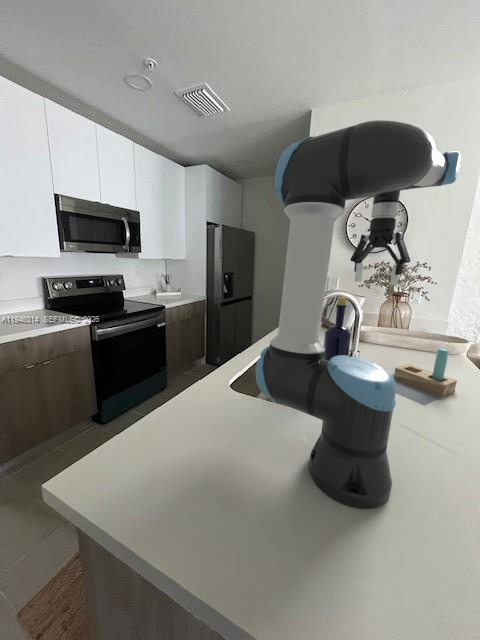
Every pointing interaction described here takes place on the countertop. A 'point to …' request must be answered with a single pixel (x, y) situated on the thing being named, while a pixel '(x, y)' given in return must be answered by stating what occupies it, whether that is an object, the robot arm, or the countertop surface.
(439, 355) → the peg
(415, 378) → the block
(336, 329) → the bottle
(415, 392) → the mat
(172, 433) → the countertop surface
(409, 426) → the countertop surface
